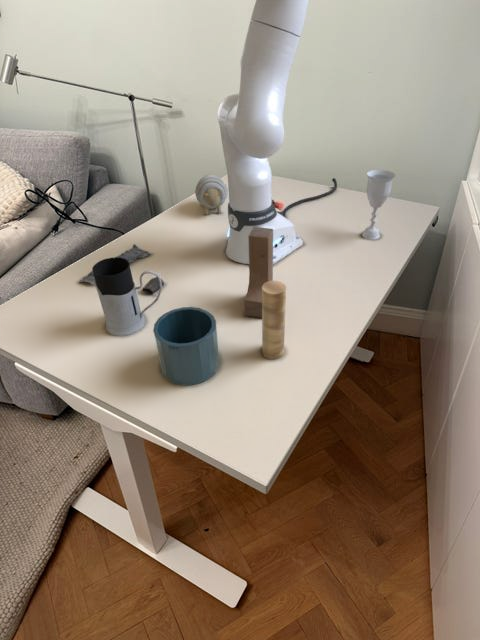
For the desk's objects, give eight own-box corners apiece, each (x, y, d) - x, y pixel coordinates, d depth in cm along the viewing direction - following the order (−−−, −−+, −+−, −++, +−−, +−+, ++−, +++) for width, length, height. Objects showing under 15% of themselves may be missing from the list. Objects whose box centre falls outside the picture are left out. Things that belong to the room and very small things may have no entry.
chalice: (356, 238, 126) (364, 177, 114) (360, 228, 131) (369, 168, 119) (382, 242, 123) (393, 180, 112) (385, 232, 128) (396, 171, 117)
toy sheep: (199, 220, 139) (196, 187, 132) (194, 200, 152) (191, 168, 145) (232, 217, 140) (230, 183, 133) (224, 197, 153) (222, 165, 146)
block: (142, 293, 108) (140, 287, 106) (153, 280, 112) (151, 274, 111) (155, 295, 107) (154, 289, 105) (165, 282, 111) (164, 276, 110)
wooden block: (263, 318, 98) (263, 248, 87) (244, 315, 99) (241, 245, 88) (272, 296, 105) (273, 228, 93) (254, 293, 106) (253, 226, 95)
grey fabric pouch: (92, 289, 110) (90, 282, 109) (75, 280, 113) (73, 274, 112) (151, 255, 123) (150, 248, 122) (135, 248, 126) (133, 242, 125)
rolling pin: (273, 341, 92) (274, 277, 82) (288, 352, 89) (291, 287, 79) (257, 351, 90) (257, 286, 80) (272, 362, 87) (273, 296, 77)
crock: (198, 337, 94) (193, 299, 87) (230, 366, 86) (228, 327, 80) (151, 361, 88) (142, 323, 82) (181, 394, 81) (174, 355, 75)
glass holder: (111, 311, 102) (96, 256, 93) (171, 311, 101) (162, 255, 92) (100, 336, 95) (83, 278, 86) (165, 335, 95) (154, 277, 85)
